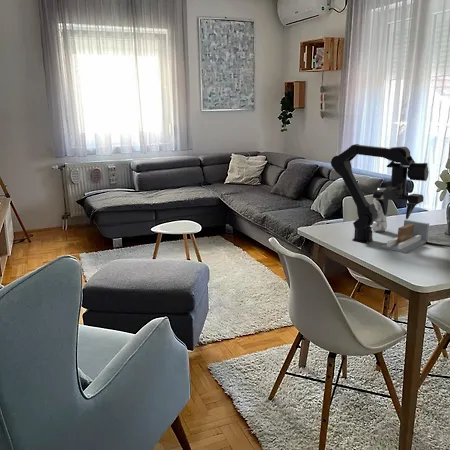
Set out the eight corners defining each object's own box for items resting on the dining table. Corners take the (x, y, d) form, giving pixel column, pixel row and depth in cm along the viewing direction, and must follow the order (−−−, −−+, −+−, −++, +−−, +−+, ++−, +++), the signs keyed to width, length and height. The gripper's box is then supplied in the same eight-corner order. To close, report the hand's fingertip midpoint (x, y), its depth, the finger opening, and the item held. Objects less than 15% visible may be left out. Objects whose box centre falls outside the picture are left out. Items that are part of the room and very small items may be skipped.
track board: (381, 247, 180) (383, 228, 177) (404, 237, 193) (405, 219, 191) (405, 252, 172) (407, 233, 170) (427, 242, 186) (429, 223, 184)
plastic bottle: (389, 232, 202) (393, 188, 196) (377, 233, 199) (380, 190, 194) (380, 228, 207) (383, 186, 202) (368, 230, 205) (371, 187, 200)
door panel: (396, 244, 180) (398, 228, 178) (408, 239, 186) (409, 223, 184) (401, 245, 178) (403, 229, 176) (412, 240, 185) (414, 224, 183)
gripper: (366, 179, 176) (364, 217, 180) (413, 184, 163) (409, 224, 167) (380, 176, 184) (378, 212, 188) (425, 180, 170) (422, 219, 174)
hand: (395, 217), depth 179 cm, fingers open, 9 cm apart
